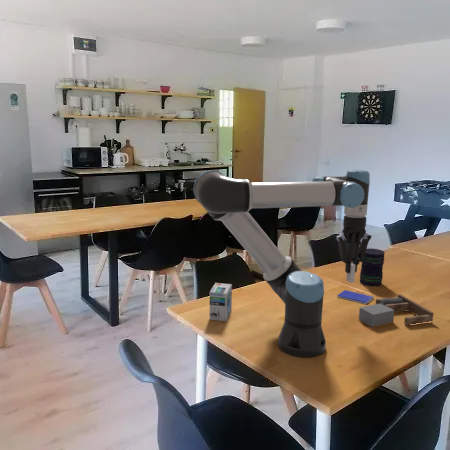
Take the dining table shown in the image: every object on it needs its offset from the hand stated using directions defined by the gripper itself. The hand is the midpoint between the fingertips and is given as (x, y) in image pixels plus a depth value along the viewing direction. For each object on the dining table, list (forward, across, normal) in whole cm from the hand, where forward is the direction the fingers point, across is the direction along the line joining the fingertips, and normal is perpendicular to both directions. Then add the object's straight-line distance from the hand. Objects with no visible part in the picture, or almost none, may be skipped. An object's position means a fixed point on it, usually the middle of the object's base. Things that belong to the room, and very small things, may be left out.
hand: (350, 281), depth 161 cm
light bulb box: (+17, -42, +18) cm, 49 cm away
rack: (+16, +25, +2) cm, 30 cm away
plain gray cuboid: (+17, +12, 0) cm, 20 cm away
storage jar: (+17, +34, +38) cm, 53 cm away
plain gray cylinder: (+17, +25, +9) cm, 31 cm away
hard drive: (+17, +17, +22) cm, 33 cm away
